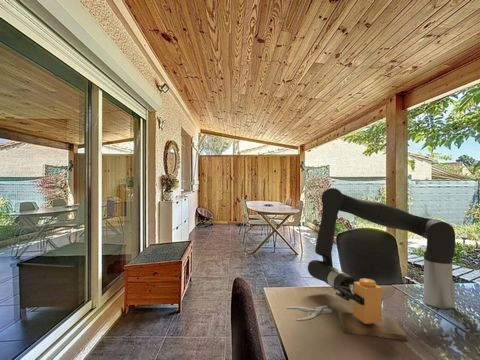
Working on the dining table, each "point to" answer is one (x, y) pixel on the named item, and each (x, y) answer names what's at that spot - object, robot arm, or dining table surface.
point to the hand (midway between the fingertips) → (372, 301)
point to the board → (372, 327)
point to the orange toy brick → (368, 301)
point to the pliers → (316, 311)
